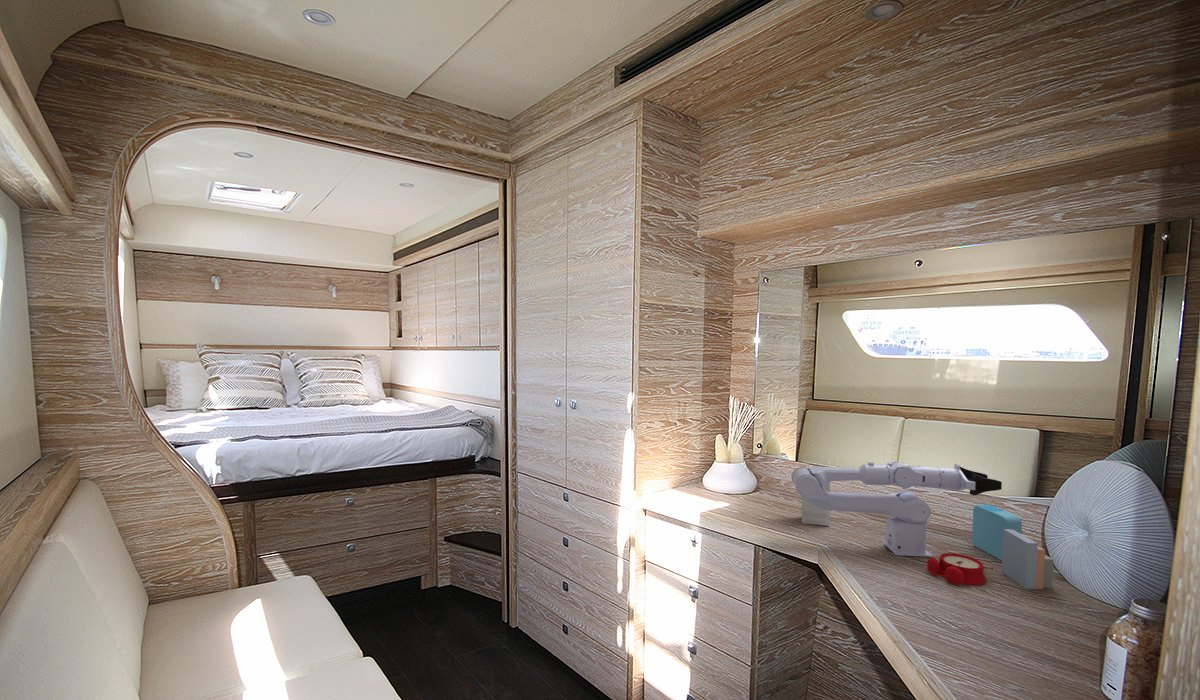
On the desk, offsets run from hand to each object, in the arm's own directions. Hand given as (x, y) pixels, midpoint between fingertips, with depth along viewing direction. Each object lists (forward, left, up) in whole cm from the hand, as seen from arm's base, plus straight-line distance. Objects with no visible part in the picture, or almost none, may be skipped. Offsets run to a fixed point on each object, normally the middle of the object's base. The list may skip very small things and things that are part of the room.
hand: (993, 481), depth 146 cm
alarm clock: (-15, -13, -21) cm, 29 cm away
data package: (+4, +4, -21) cm, 22 cm away
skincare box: (-39, +22, -21) cm, 50 cm away
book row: (+1, -13, -21) cm, 24 cm away
